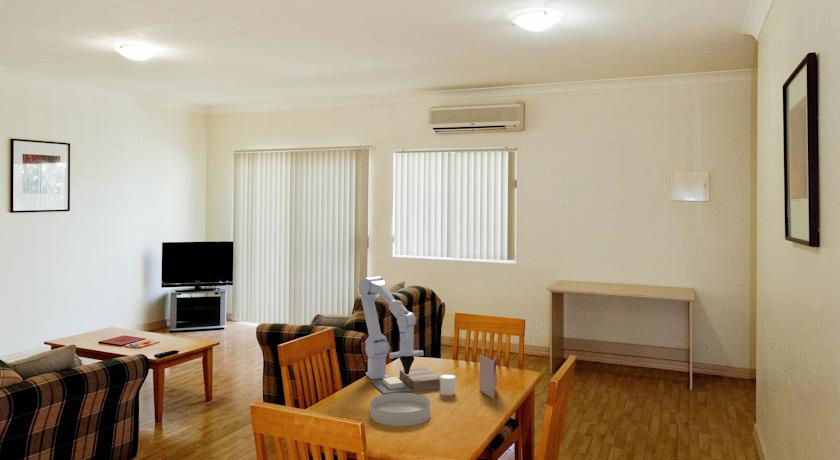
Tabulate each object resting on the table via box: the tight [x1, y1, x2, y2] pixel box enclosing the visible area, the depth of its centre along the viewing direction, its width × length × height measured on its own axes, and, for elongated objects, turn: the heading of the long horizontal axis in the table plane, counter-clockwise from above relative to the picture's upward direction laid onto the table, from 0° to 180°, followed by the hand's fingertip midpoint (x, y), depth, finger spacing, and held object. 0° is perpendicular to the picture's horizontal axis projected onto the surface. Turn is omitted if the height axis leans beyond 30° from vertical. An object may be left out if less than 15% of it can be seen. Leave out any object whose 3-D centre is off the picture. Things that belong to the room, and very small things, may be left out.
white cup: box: [438, 373, 457, 396], centre depth 247 cm, size 7×7×7 cm
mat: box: [370, 377, 414, 395], centre depth 255 cm, size 18×12×1 cm
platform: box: [399, 367, 440, 392], centre depth 259 cm, size 18×12×4 cm, turn 21°
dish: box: [369, 392, 432, 427], centre depth 222 cm, size 22×22×5 cm
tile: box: [382, 376, 403, 389], centre depth 255 cm, size 9×6×2 cm, turn 21°
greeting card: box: [478, 354, 498, 399], centre depth 246 cm, size 11×7×15 cm, turn 168°
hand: (406, 373), depth 257 cm, fingers closed
